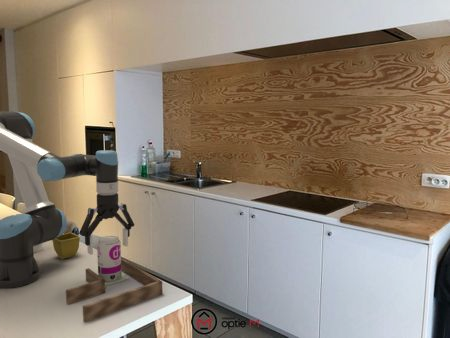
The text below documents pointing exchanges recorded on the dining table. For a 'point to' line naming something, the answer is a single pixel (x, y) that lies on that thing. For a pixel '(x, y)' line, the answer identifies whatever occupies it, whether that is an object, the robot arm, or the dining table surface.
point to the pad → (117, 280)
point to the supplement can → (109, 258)
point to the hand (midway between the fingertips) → (108, 249)
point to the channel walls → (117, 301)
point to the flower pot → (66, 245)
